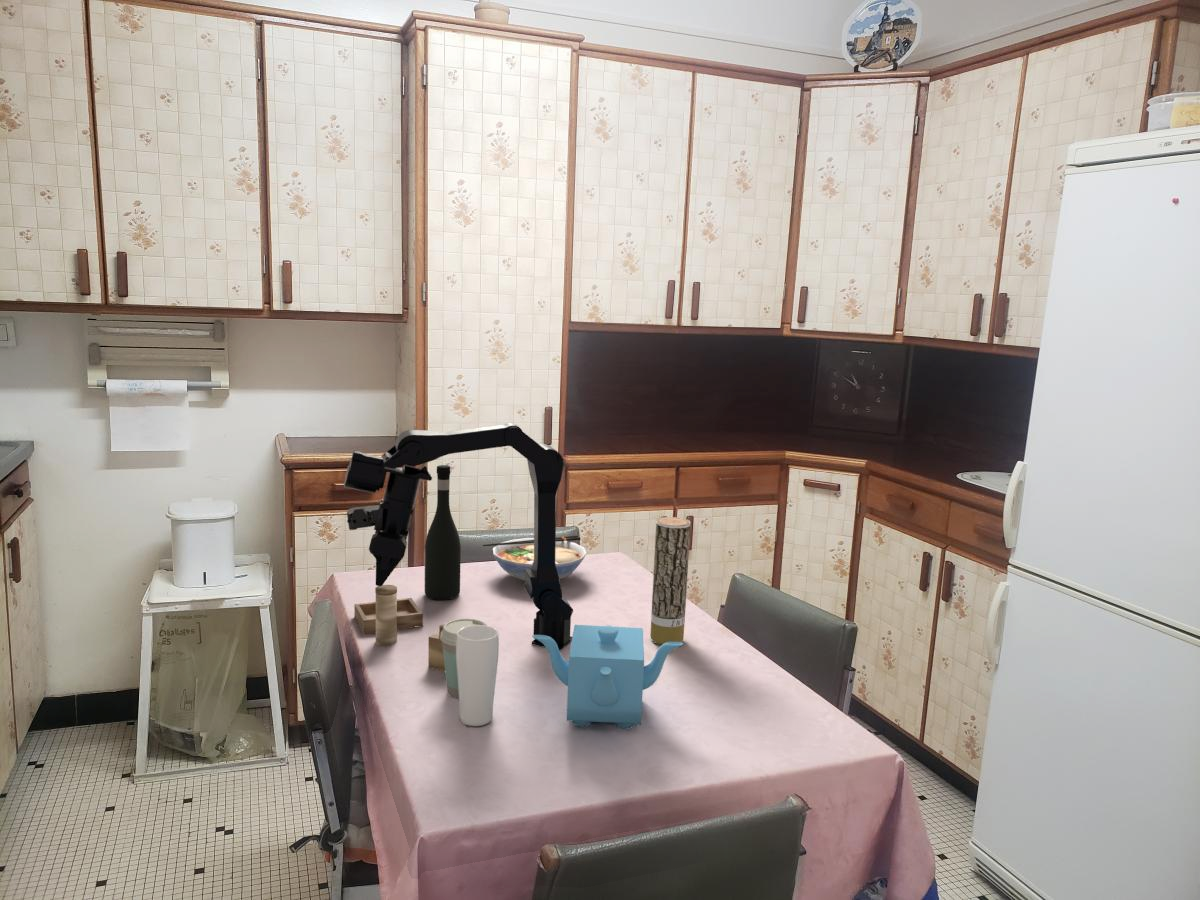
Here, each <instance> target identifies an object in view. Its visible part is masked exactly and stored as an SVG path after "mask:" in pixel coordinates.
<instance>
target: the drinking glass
mask: <svg viewBox="0 0 1200 900" xmlns="http://www.w3.org/2000/svg"><path fill="white" fill-rule="evenodd" d="M499 639H500V638H499V631H498V630H497V629H496V628H495V627H493V626H488V625H487V626H485V625H472V626H466V627H463V628H461V629H459V630H458V631H457V637H456V666H457V679H458V692H459V699H458V701H459V703H458V705H459V720H460V722H461V723H462V724H463V725H466V726H469V727H482V726H485V725H487V724H489V723H490V722H491V721H492V720H493V717H494V702H495V701H494V700H495V693H496V692H495V689H496V682H497V674H498V665H499V664H498V663H499V650H500V649H499V646H500V643H499V642H500V641H499Z"/></svg>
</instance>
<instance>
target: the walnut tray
mask: <svg viewBox="0 0 1200 900" xmlns="http://www.w3.org/2000/svg"><path fill="white" fill-rule="evenodd" d="M353 607H354V619H355V621H356V622H357V624H358V625H359V628H360V629H361V632H362V633H363V634H365V635H366V634H374V633H376V601H372V602H371V601H370V602H363V603H361V602H360V603H354V604H353ZM415 626H422V627H424V613H423V611H422V610H421V609H420V607H419V606H418V604H417V603H416V602H415V600H414V599H413V598H412V597H406V598H400V599H398V598H397V629H398V630H404V629H403V628H406V629H411V628H410V627H414V628H416V627H415Z"/></svg>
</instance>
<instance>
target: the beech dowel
mask: <svg viewBox="0 0 1200 900" xmlns="http://www.w3.org/2000/svg"><path fill="white" fill-rule="evenodd" d="M374 591H375V602H376V632H375V644H377V645H379V646H384V647H386V646H388V647H389V646H393V645H395V644H397V642H398V640H397V639H398V638H397V637H398V634H397V632H398V630H397V599H398V587H397V585H393V584H383V585H382V586H376V587H375V589H374ZM392 644H393V645H392Z"/></svg>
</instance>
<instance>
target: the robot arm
mask: <svg viewBox="0 0 1200 900" xmlns="http://www.w3.org/2000/svg"><path fill="white" fill-rule="evenodd" d="M502 447H503V448H504V447H511V448H513V449H514V450H515V451H516V452H517V453H519V455H521V456H522V457H523V458H525V459H526V460H527V466H528V472H529V473H528V474H529V477H530V481H531V485H532V488H533V494H534V497H533V499H534V500H533V502H534V505H533V506H534V507H533V508H534V509H533V538H534V561H533V564H532V567H531V569H524V573H525V581H524V584H523V589H524V590H525V592H526V593H527V594H528V597H529V598H530V600H531V601H532V603H533V604H534V606H535V608H537V610H538V611H536V612H535V617H534V619H533V635H545V636H549V637H551V638H552V639H553V640H554V641H555V642H556V643H557V646H558V648H559V651H560V650H563V649H564V648H565V647H567V646H568V645H569V644H571V642H572V636H571V623H572V622H571V621H572V614H573V613H574V609H573V607H572V606H571V604H570V603H569V602H568V601H567V599H566V598H565V596H564V595H563V590H562V585H561V579H559V576H558V572H557V568H556V564H555V551H556V537H557V535H556V534H557V533H556V532H557V531H556V530H557V528H556V526H557V523H556V522H557V518H556V517H557V514H556V513H557V493H558V491H559V487H560V484H561V481H562V477H563V471H564V466H565V465H564V463H565V462H564V458H563V456H562V454H561V453H560V452H559V451H558V450H556V449H555V448H553V447H552V446H551V445H549V444H546V443H538V442H537V441H535V440H534V439H533V438H531V436H529V435H527V433H526V432H524V431H523V429H522V428H521V427H520V426H518V425H517V424H515V423H514V422H506V423H504V424H498V425H491V426H490V425H489V426H484V427H482V426H481V427H477V428H476V427H474V428H468V429H458V430H452V431H445V432H444V431H435V430H434V431H433V430H427V429H426V430H422V429H408V430H404V431H402V432H401V433H400V434H399V435H398V436H397V438H396V440H395V444H394V445H393V446H391V447H390V448H389V449H388V450H386V451H385V452H384V453H383V454H382V455H381V457H380V456H377V455H371V454H367V453H363V452H362V451H357V450H353V452H352V455H351V458H350V461H349V465H347V468H346V472H345V476H344V477H345V478H344V483H343V488H346V489H352V490H356V491H361V492H366V493H372V494H376V492H377V491H378V492H379V491H381V490H383V488H384V485H385V483H386V477H387V473H389V474H388V479H387V483H386V487H385V490H384V494H383V498H381V501H380V503H379V505H378V504H377V505H365V506H357V507H350V508H348V509H347V511H346V516H347V520H346V521H347V525H348V530H350V531H355V530H357V529H363V528H370V527H373V530H374V534H372V536H371V539H370V543H369V547H368V551H369V553H370V554H371V555H373V557H374V558H375V586H376V587H377V586H382V585H385V582H386V581H387V580H388V578H390V575H391V574H392V572H394V570H395V568H396V567H397V566H398V564H399V563H400V562H401V561H402V560H403V559H404V557H405V553H406V551H407V550H406V549H407V544H408V542H407V538H408V536H409V532H410V528H411V521H412V516H413V513H414V510H415V508H414V507H415V505H416V500H417V496H418V492H419V488H420V484H421V480H425V481H433V477H432V475H431V473H430V472H429V471H428V467H427V465H426V463H430V462H432V461H436V460H438V459H440V458H442V457H444V456H447V455H448V456H449V455H452V454H453V455H454V454H458V453H467V452H473V451H480V450H481V451H482V450H487V449H494V448H502ZM422 464H423V465H422ZM419 465H421V466H419ZM416 466H419V467H416ZM400 467H402V468H400ZM533 635H532V636H533ZM531 645H533V646H537V647H542V648H546V647H545V646H544V644H543V643H542V642H540V641H538V640H537V639H535V638H533V640H532V641H531Z"/></svg>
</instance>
